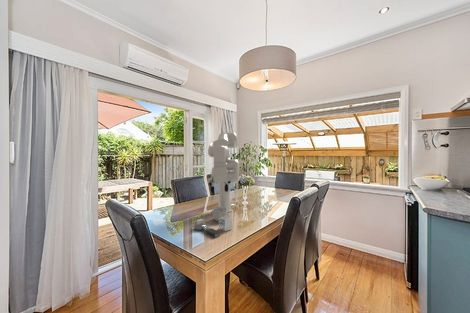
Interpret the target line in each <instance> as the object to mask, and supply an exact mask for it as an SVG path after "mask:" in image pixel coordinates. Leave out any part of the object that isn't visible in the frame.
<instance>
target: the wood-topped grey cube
mask: <svg viewBox="0 0 470 313" xmlns="http://www.w3.org/2000/svg"><path fill="white" fill-rule="evenodd" d="M218 230H219V231H222V232H224V233H225V232H228V231H230V230H233V217H232V216H231V217H230V216H228V215H227V216H223V217H219V221H218Z"/></svg>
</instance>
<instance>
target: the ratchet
mask: <svg viewBox="0 0 470 313" xmlns="http://www.w3.org/2000/svg"><path fill="white" fill-rule="evenodd" d="M193 230H194V231H196V232H202V233H204V234H206V235H208V236H210V237H212V238H214V239H216V238H218V237H221V232H220V230H216V229H214V228H210V227H208V224H207V222H205V220H204V219H203V218H199V219H196V223H194V225H193Z"/></svg>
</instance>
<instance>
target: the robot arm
mask: <svg viewBox="0 0 470 313" xmlns="http://www.w3.org/2000/svg"><path fill="white" fill-rule="evenodd" d="M238 143H239V141H238V136H237V133H235V132H234V131H233V132H221V133H219V134H218V138H217V139H216V140H214V141H212V142H210V144H209V146H208V149H207V155H208V157H210V158H213V166H212V168H211V172H210V173H211V175H210V177H209V178H207V179H206V182H207V184H208V185H209V186H210V193H212V194H215V185H216V184H217V185H218V207H225V208H227V213H230V212H232V211H233V208H232V207H235V203H233V204H231V186H230V184H238V183H239V181H240V163H239V160H238V159H236V158H234V159H233V158H232V159H231V153H230V149H237V148H238Z"/></svg>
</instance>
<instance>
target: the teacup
mask: <svg viewBox="0 0 470 313" xmlns="http://www.w3.org/2000/svg"><path fill="white" fill-rule="evenodd" d="M211 214H212V219H213V220H214V221H215V222H219V217H223V216H228V212H227V208H225V207H219V206H218V207H214V208H212V209H211Z"/></svg>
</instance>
